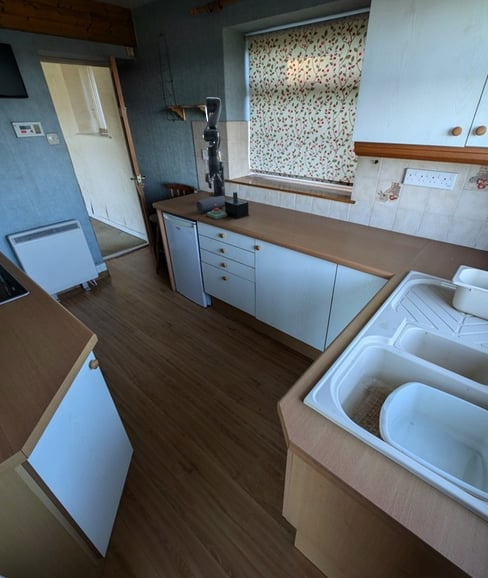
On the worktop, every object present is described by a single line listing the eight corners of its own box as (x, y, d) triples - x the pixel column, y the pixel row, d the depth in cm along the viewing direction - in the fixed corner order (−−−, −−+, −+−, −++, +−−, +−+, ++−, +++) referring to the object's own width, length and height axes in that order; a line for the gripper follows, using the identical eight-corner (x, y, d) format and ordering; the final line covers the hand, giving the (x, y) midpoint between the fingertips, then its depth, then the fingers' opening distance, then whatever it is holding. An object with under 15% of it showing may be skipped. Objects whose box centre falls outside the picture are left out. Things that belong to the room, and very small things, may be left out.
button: (213, 211, 216) (212, 208, 215) (217, 210, 218) (216, 207, 217) (215, 212, 213) (215, 209, 212) (219, 211, 215) (219, 208, 214)
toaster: (225, 214, 220) (224, 201, 214) (236, 211, 226) (236, 198, 221) (237, 219, 210) (236, 204, 205) (249, 215, 217) (248, 201, 212)
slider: (233, 199, 217) (232, 192, 215) (235, 198, 219) (235, 191, 216) (235, 199, 216) (234, 192, 213) (237, 199, 217) (237, 192, 215)
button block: (206, 215, 218) (206, 210, 216) (217, 212, 224) (217, 207, 222) (216, 219, 211) (215, 213, 209) (227, 216, 216) (226, 210, 214)
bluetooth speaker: (203, 215, 219) (202, 201, 214) (196, 212, 225) (195, 199, 220) (227, 209, 232) (226, 196, 227) (220, 206, 238) (219, 194, 233)
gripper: (218, 161, 205) (220, 185, 213) (201, 163, 197) (204, 188, 205) (225, 162, 200) (226, 186, 208) (207, 164, 192) (210, 190, 200)
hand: (215, 187), depth 207 cm, fingers open, 8 cm apart
